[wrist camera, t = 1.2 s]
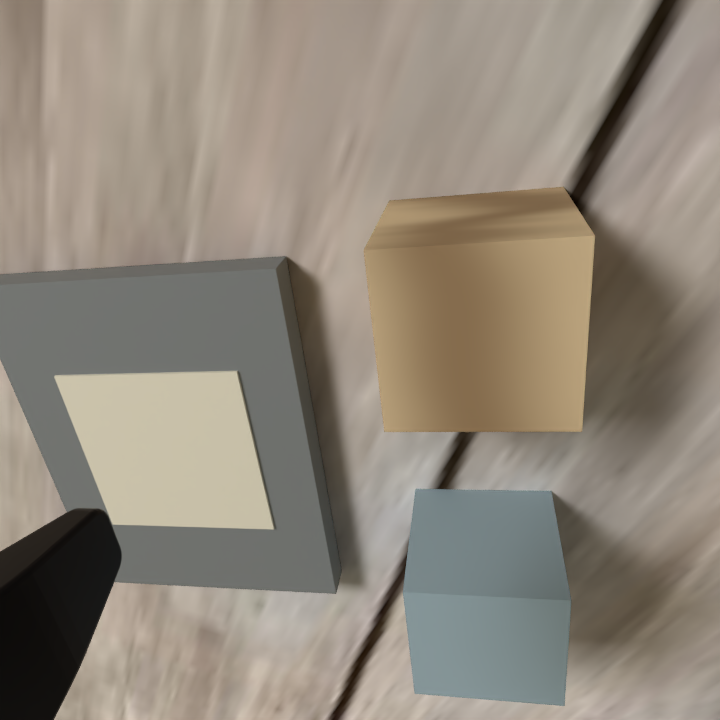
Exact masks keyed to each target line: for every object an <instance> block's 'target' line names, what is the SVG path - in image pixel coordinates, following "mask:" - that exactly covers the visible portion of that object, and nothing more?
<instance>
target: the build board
mask: <svg viewBox="0 0 720 720" xmlns="http://www.w3.org/2000/svg"><path fill="white" fill-rule="evenodd" d="M0 359H1V362H2V364H3V366H4V369H5V371H6V373H7V375H8V378H9V380H10V382H11V385H12V387H13V389H14V392H15V394H16V396H17V398H18V401H19V403H20V405H21V408H22V410H23V412H24V415H25V417H26V419H27V421H28V424H29V426H30V428H31V431H32V433H33V435H34V438H35V440H36V442H37V444H38V447H39V449H40V451H41V454H42V456H43V458H44V460H45V463H46V465H47V467H48V470H49V472H50V474H51V477H52V479H53V481H54V483H55V486H56V488H57V490H58V493H59V495H60V497H61V500H62V502H63V504H64V506H65V509H66V511H67V512H69V511H71V510H73V509H75V508H100V509H102V510H104V511H105V512H106V513H107V514H108V516H109V519H110V521H111V524H112V526H113V529H114V532H115V534H116V537H117V539H118V542H119V545H120V547H121V551H122V561H121V565H120V569H119V571H118V574H117V576H116V579H115V581H114V582H121V583H140V584H159V585H178V586H198V587H217V588H236V589H255V590H274V591H294V592H313V593H332V594H336V592H337V588H338V584H339V580H340V575H341V565H340V560H339V554H338V548H337V542H336V537H335V531H334V525H333V520H332V514H331V508H330V503H329V497H328V491H327V486H326V480H325V474H324V469H323V463H322V457H321V452H320V446H319V440H318V434H317V429H316V423H315V417H314V412H313V406H312V400H311V395H310V389H309V383H308V378H307V372H306V366H305V361H304V355H303V349H302V343H301V338H300V332H299V326H298V321H297V315H296V309H295V304H294V298H293V292H292V287H291V281H290V275H289V270H288V264H287V258H286V256H284V257H268V258H253V259H237V260H221V261H205V262H190V263H174V264H158V265H142V266H127V267H111V268H95V269H79V270H63V271H48V272H32V273H16V274H0Z"/></svg>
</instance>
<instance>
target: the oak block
mask: <svg viewBox="0 0 720 720" xmlns="http://www.w3.org/2000/svg"><path fill="white" fill-rule="evenodd" d="M594 242H595V235H594V233H593V232H592V230H591V229H590V227H589V226H588V224H587V223H586V221H585V219H584V218H583V216H582V215H581V213H580V212H579V210H578V209H577V207H576V205H575V204H574V202H573V201H572V199H571V198H570V196H569V195H568V193H567V192H566V190H565V188H564V187H556V188H543V189H530V190H518V191H505V192H493V193H480V194H467V195H455V196H442V197H430V198H417V199H404V200H392V201H389V202H388V204H387V206H386V208H385V210H384V212H383V214H382V216H381V218H380V220H379V222H378V224H377V226H376V227H375V229H374V231H373V233H372V235H371V237H370V239H369V241H368V243H367V245H366V247H365V249H364V257H365V266H366V275H367V284H368V292H369V301H370V310H371V319H372V327H373V336H374V345H375V354H376V363H377V371H378V380H379V389H380V398H381V406H382V415H383V424H384V432H582V424H583V409H584V394H585V379H586V364H587V349H588V333H589V318H590V303H591V288H592V273H593V258H594Z"/></svg>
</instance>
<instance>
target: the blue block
mask: <svg viewBox="0 0 720 720" xmlns="http://www.w3.org/2000/svg"><path fill="white" fill-rule="evenodd" d="M403 596H404V605H405V614H406V622H407V631H408V640H409V648H410V657H411V665H412V674H413V683H414V691H415V694H426V695H438V696H450V697H462V698H474V699H486V700H498V701H511V702H523V703H535V704H547V705H559V706H565V690H566V675H567V660H568V644H569V629H570V613H571V596H570V590H569V585H568V580H567V574H566V569H565V563H564V558H563V552H562V547H561V541H560V536H559V530H558V525H557V519H556V514H555V508H554V503H553V497H552V492H551V491H509V490H445V489H416V490H415V498H414V506H413V514H412V522H411V531H410V539H409V547H408V555H407V564H406V572H405V580H404V588H403Z"/></svg>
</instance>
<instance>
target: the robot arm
mask: <svg viewBox="0 0 720 720" xmlns="http://www.w3.org/2000/svg"><path fill="white" fill-rule="evenodd" d="M121 561H122V551H121V547H120V545H119V542H118V539H117V537H116V534H115V532H114V529H113V526H112V524H111V521H110V519H109V516H108V514H107V513H106V512H105V511H104V510H102V509H100V508H75V509H73V510H71V511H69V512H67V513H65V514H64V515H62V516H60V517H59V518H57V519H55V520H53V521H52V522H50V523H48V524H47V525H45V526H43V527H41V528H40V529H38V530H36V531H35V532H33V533H31V534H29V535H28V536H26V537H24V538H23V539H21V540H19V541H18V542H16V543H14V544H12V545H11V546H9V547H7V548H6V549H4V550H2V551H0V720H54V718H55V716H56V714H57V712H58V710H59V708H60V706H61V705H62V703H63V701H64V699H65V697H66V695H67V693H68V691H69V689H70V687H71V685H72V683H73V681H74V678H75V676H76V674H77V672H78V670H79V668H80V666H81V663H82V661H83V659H84V656H85V654H86V652H87V649H88V647H89V644H90V642H91V639H92V637H93V634H94V632H95V629H96V627H97V624H98V622H99V619H100V617H101V614H102V612H103V609H104V607H105V604H106V601H107V599H108V596H109V594H110V591H111V589H112V586H113V584H114V581H115V579H116V576H117V574H118V571H119V569H120V565H121Z"/></svg>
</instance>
